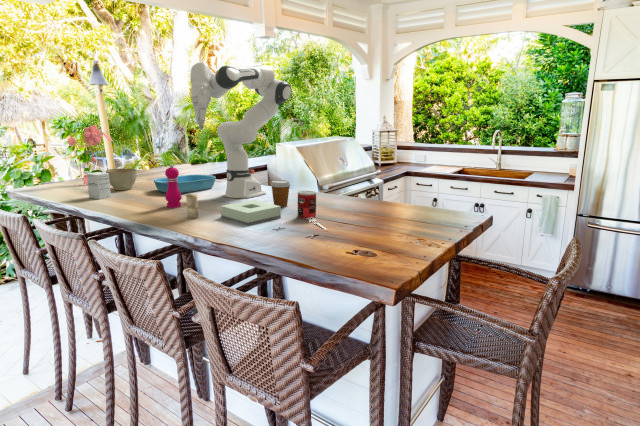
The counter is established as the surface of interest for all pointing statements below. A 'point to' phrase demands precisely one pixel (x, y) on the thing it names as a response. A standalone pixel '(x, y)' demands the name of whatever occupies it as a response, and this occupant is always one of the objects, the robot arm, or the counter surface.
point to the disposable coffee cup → (280, 192)
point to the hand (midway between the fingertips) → (201, 124)
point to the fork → (316, 223)
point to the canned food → (306, 204)
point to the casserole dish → (187, 183)
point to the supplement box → (98, 185)
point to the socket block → (250, 212)
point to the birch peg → (192, 206)
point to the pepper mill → (172, 188)
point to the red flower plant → (90, 142)
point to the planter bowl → (122, 178)
